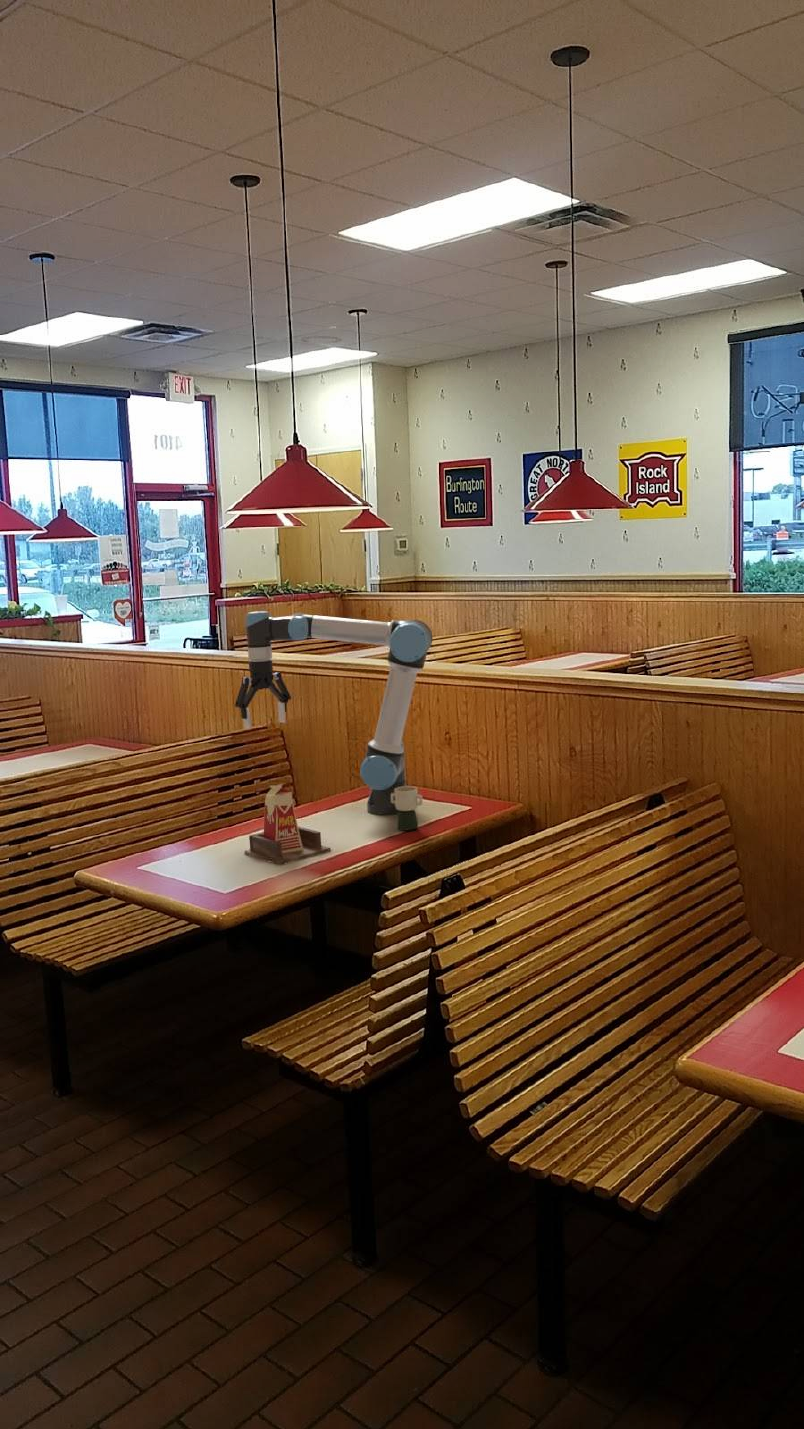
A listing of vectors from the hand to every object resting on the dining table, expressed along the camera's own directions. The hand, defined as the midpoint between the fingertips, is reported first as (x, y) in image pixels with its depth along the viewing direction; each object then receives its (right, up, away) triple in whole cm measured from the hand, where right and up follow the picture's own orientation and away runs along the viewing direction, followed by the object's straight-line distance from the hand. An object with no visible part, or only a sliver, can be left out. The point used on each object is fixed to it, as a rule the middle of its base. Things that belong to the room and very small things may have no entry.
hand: (265, 725), depth 356 cm
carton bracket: (+11, -37, -34) cm, 51 cm away
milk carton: (+9, -36, -33) cm, 50 cm away
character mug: (+46, -32, -15) cm, 58 cm away
